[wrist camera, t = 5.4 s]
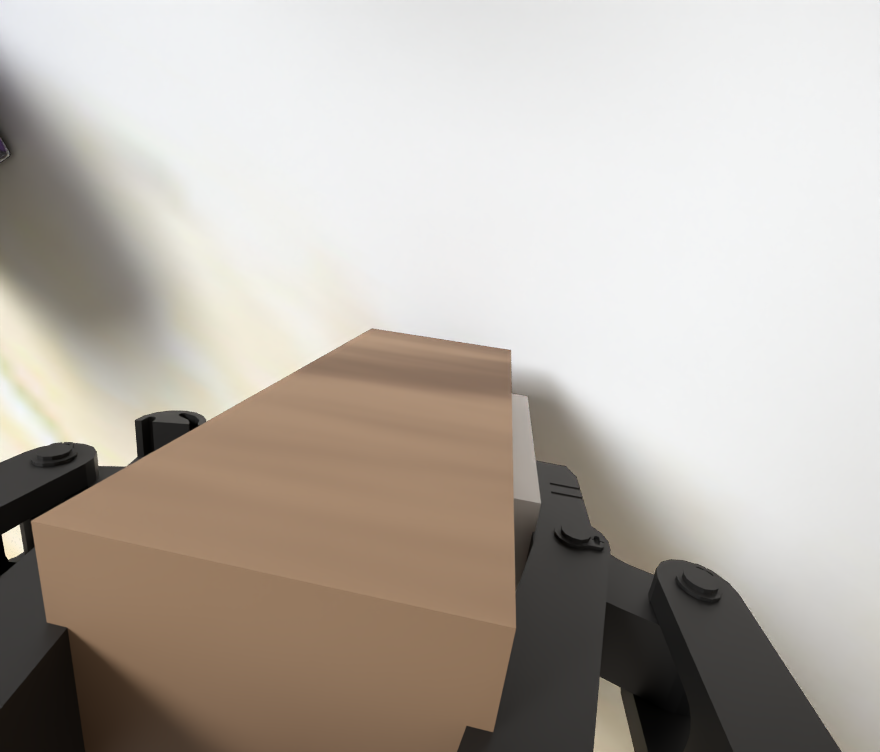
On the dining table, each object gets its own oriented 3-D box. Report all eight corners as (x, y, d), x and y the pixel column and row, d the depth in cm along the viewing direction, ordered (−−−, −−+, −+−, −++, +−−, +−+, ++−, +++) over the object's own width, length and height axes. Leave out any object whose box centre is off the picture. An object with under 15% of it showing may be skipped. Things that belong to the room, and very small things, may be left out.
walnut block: (371, 328, 16) (30, 521, 5) (510, 350, 16) (515, 628, 4) (361, 454, 17) (81, 838, 6) (488, 477, 17) (444, 950, 5)
